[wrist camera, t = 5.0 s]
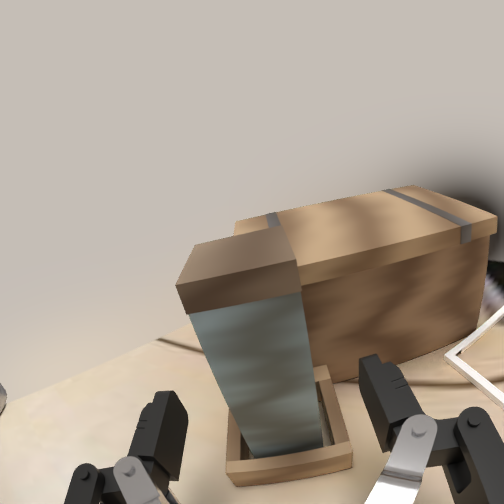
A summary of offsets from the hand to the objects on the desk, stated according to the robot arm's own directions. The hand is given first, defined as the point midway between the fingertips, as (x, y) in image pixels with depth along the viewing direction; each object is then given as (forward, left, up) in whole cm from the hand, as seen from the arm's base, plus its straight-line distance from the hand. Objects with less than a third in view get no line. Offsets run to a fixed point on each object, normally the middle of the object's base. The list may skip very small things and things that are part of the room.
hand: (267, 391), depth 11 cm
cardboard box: (+7, +9, -7) cm, 13 cm away
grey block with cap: (0, +2, -8) cm, 8 cm away
